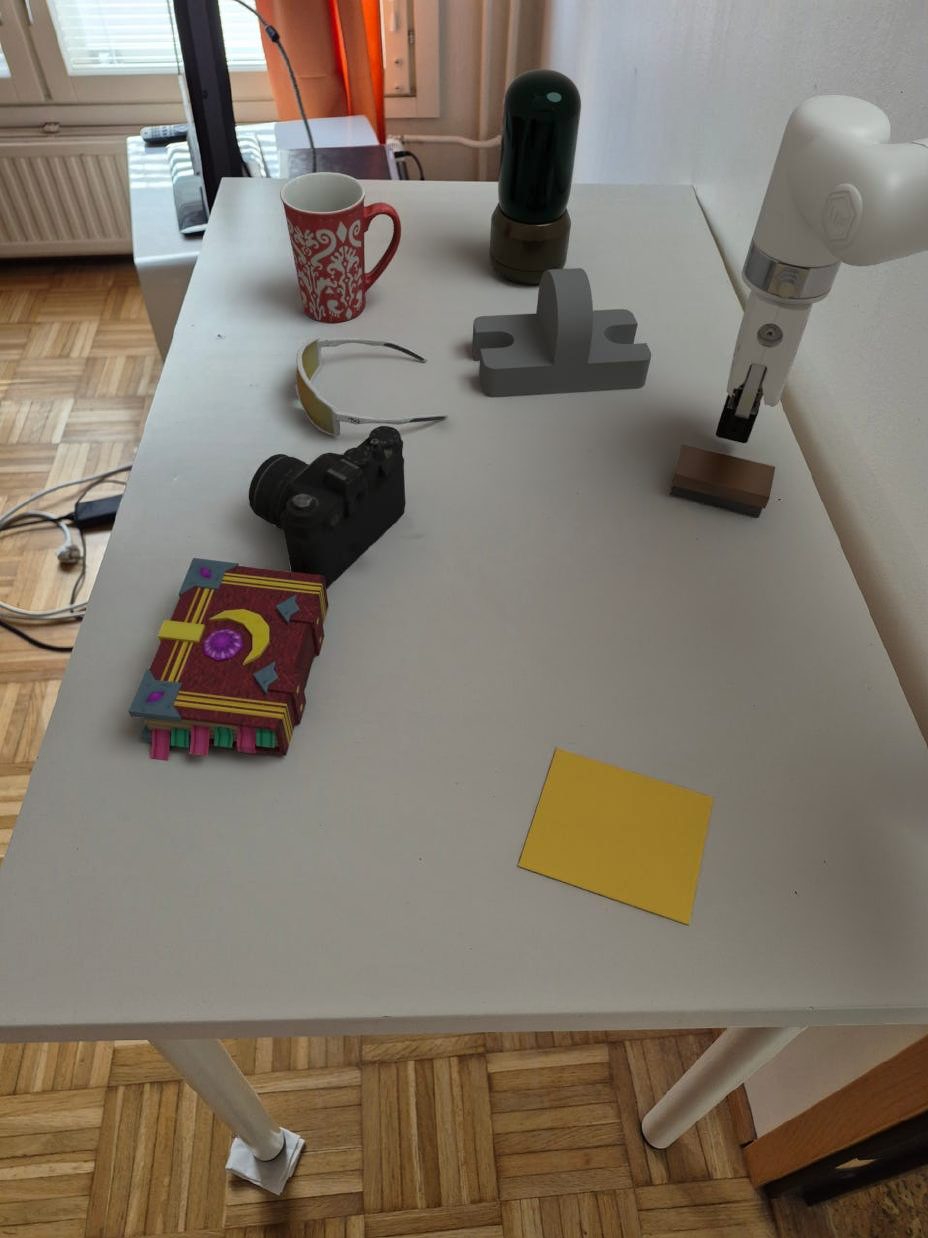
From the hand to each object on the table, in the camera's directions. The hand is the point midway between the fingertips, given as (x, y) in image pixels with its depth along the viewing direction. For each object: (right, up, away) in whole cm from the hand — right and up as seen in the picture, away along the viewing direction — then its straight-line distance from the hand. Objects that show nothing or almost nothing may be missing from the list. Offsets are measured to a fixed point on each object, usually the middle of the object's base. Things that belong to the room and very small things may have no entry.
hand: (731, 435), depth 89 cm
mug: (-40, +18, +15) cm, 47 cm away
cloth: (-16, -34, -25) cm, 45 cm away
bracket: (-17, +9, +9) cm, 21 cm away
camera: (-39, -10, -7) cm, 41 cm away
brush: (-2, -6, -3) cm, 7 cm away
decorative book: (-45, -23, -18) cm, 53 cm away
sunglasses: (-37, +5, +5) cm, 37 cm away
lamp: (-19, +25, +22) cm, 38 cm away
